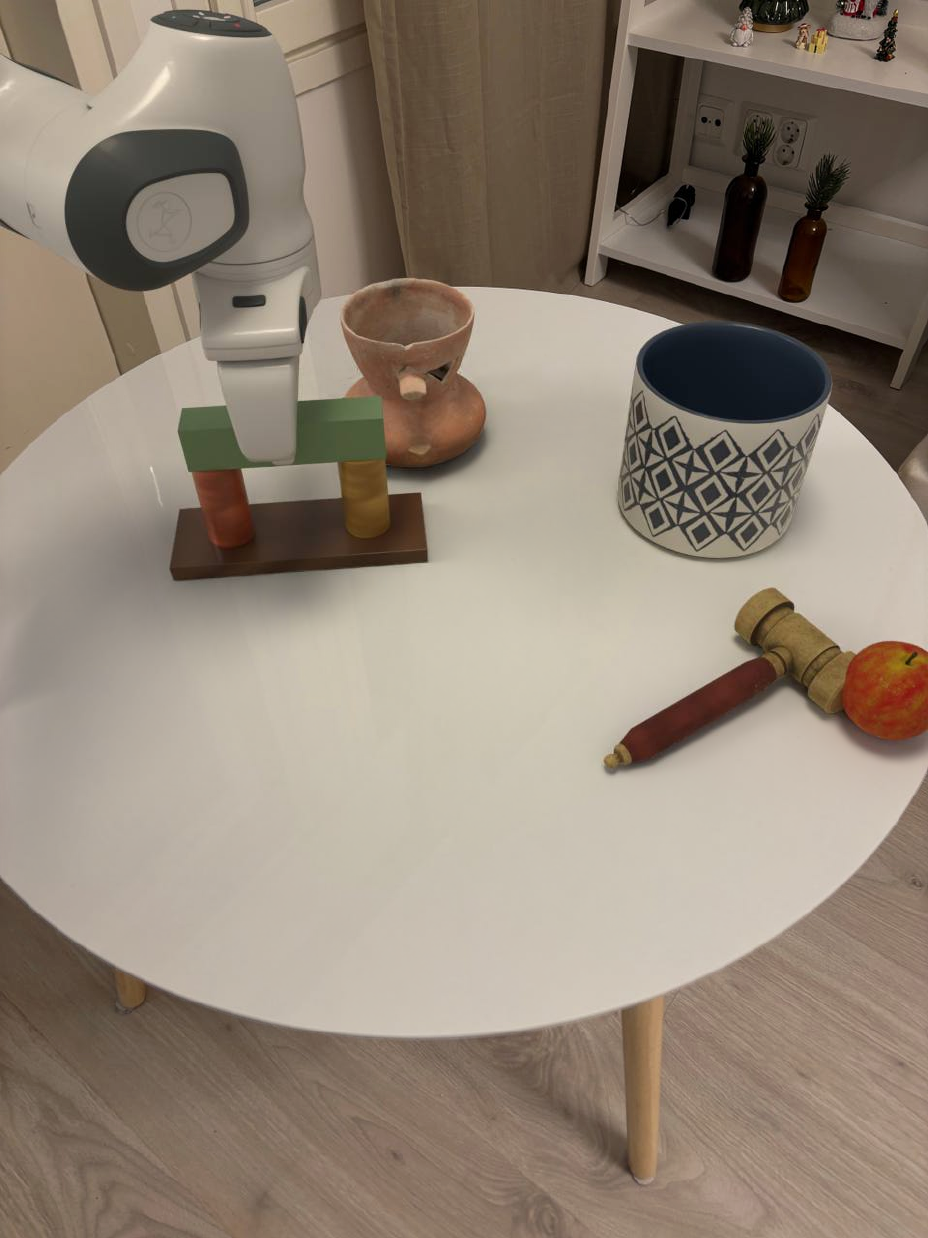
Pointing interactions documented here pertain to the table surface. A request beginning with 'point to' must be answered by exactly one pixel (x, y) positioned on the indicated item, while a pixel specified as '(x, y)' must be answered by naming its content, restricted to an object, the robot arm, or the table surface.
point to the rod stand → (297, 527)
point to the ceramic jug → (415, 367)
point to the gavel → (748, 677)
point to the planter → (720, 436)
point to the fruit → (888, 690)
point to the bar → (320, 434)
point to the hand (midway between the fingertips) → (285, 439)
